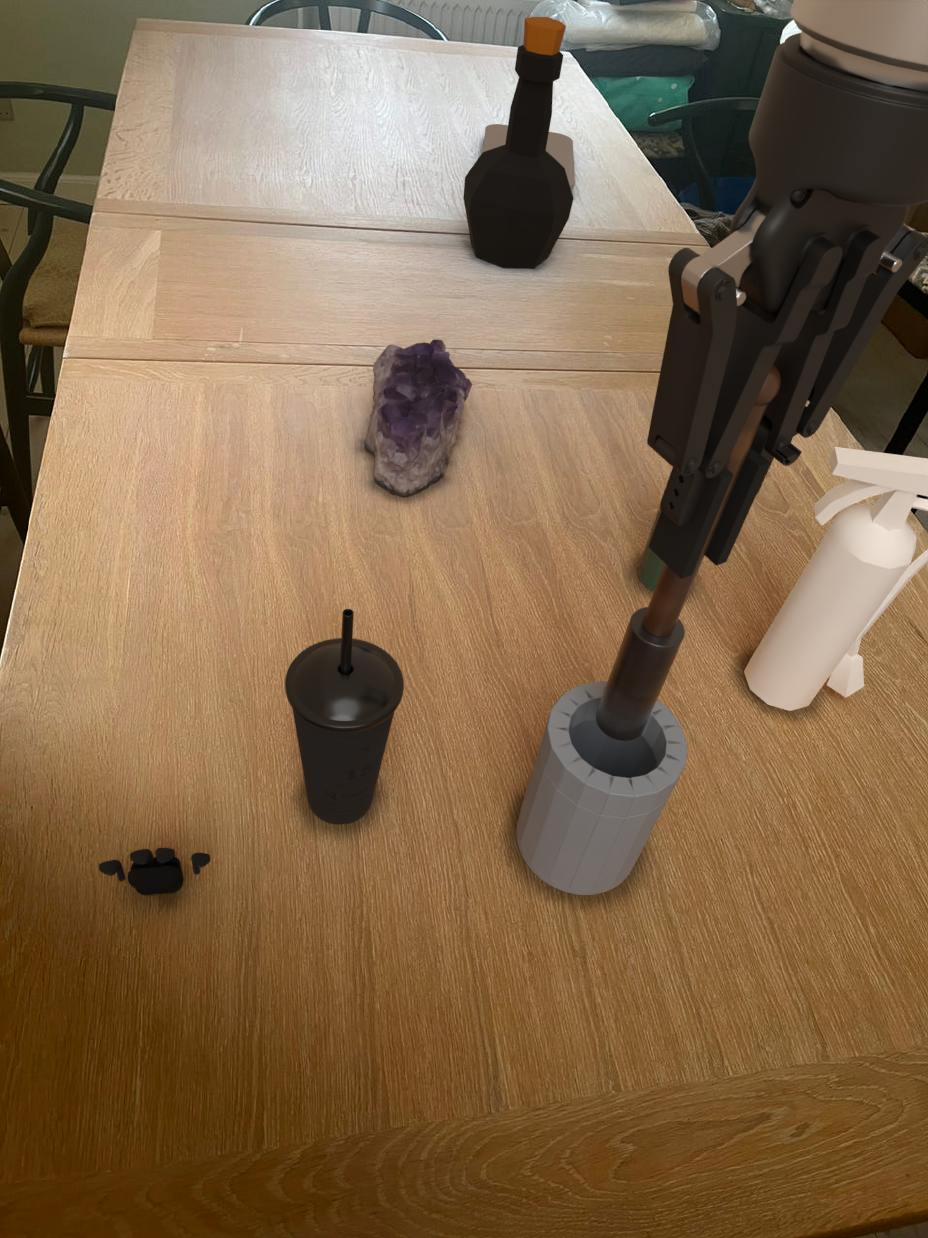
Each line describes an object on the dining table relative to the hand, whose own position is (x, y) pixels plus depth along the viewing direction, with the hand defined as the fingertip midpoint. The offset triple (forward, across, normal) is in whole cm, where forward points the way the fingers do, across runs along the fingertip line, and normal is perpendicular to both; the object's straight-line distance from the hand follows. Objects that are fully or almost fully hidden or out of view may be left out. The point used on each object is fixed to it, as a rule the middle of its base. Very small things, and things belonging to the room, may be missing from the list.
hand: (687, 553), depth 49 cm
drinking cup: (+29, +14, -11) cm, 34 cm away
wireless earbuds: (+29, +28, -10) cm, 42 cm away
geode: (+29, -13, -49) cm, 58 cm away
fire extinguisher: (+29, -27, -3) cm, 40 cm away
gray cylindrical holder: (+29, 0, 0) cm, 29 cm away
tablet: (+29, -73, -114) cm, 138 cm away
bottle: (+29, -51, -86) cm, 104 cm away
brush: (+15, 0, 0) cm, 15 cm away
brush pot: (+29, -26, -20) cm, 43 cm away
